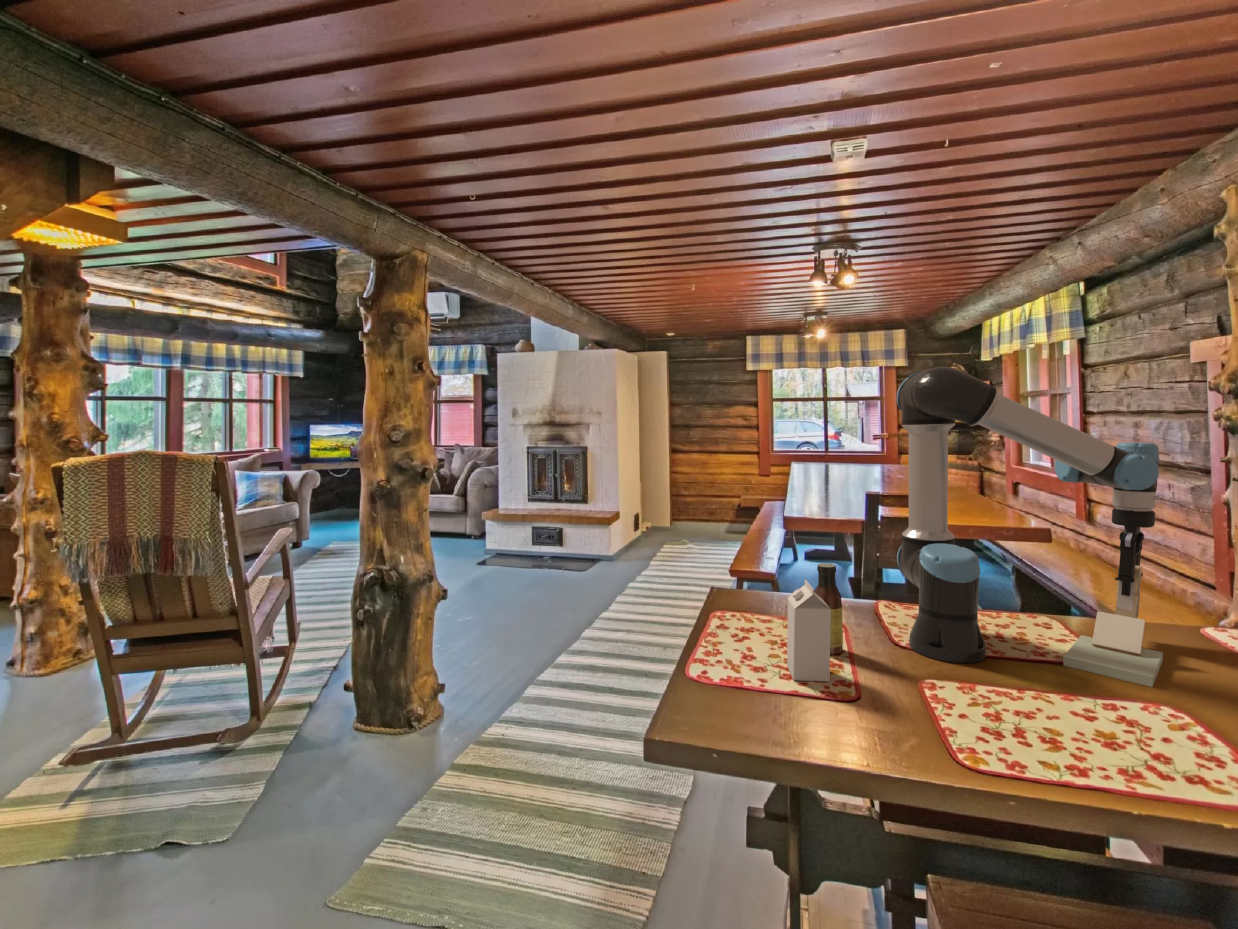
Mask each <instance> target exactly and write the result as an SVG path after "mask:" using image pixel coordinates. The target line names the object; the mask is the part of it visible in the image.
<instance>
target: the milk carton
mask: <svg viewBox="0 0 1238 929" xmlns="http://www.w3.org/2000/svg"><path fill="white" fill-rule="evenodd" d="M814 590H815V588H813V586H812V585H811V584H810V583H809V582H808V580H807V579H804V585H802V586H801V587H799V588H797V589H795V590H794V591H793V592H792V593H791V595H789V597H787V642H786V643H787V647H786V648H787V649H786V650H787V651H786V654H787V655H786V656H787V657H786V667H787V669H788V671H789V674H790V675H791V678H792V680H793V681H803V682H805V681H806V682H830V679H831V678H830V676H831V673H830V671H831V664H830V663H831V654H830V631H831V609H830V608H829V606H828V605H827V604H826V603H825V602H824V601H823V599H822V598H821V597H819V596H818V595H817V594H816V593H815V592H814Z"/></svg>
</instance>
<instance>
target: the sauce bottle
mask: <svg viewBox="0 0 1238 929" xmlns="http://www.w3.org/2000/svg"><path fill="white" fill-rule="evenodd" d="M816 571H817V573H818V575H817V576H818V578H817V579H818V580H817V583H818V584H817V585H816V587H815V588H814V592H815V593H816V594H817V595H818V596H819V597H821V598H822V599H823V601H824V602H825V603H826V604H827V605H828V606H829V608H830V609H831V631H830V655H838V654H841V653H842V652H843V645H844V638H843V637H844V635H843V634H844V632H843V629H844V628H843V603H842V595H841V592H840V591H839V588H838V586H837V581H836V572H837V565H836V564H834V563H830V562H829V563H828V562H827V563H826V562H825V563H823V562H822V563H817V567H816Z"/></svg>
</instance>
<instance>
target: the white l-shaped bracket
mask: <svg viewBox="0 0 1238 929" xmlns="http://www.w3.org/2000/svg"><path fill="white" fill-rule="evenodd" d="M1142 567H1143V566H1142V565H1140V566H1137V565H1135V574H1134V579H1135V581H1134V582H1135V590H1134V605H1133V611H1132V610H1127V609H1121V608H1117V606H1118V590H1119V581H1118V580H1117V581H1116V582H1117V584H1116V586H1117V587H1116V598H1115V599H1116V601H1115V612H1114V614H1115V615H1121V616H1126V617H1132V618H1137V619H1138V617H1139V610H1140V597H1141V583H1142V582H1141V581H1142V577H1141V573H1142V572H1143V571H1142V569H1143V568H1142ZM1117 570H1118V571H1117V576H1118V575H1119V566H1118V569H1117ZM1128 576H1129V575H1128Z"/></svg>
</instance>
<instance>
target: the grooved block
mask: <svg viewBox="0 0 1238 929" xmlns="http://www.w3.org/2000/svg"><path fill="white" fill-rule="evenodd" d="M1092 640H1093V636H1092V637H1091V636H1086V635H1082V634H1080V636H1079V637H1078V638H1077V639H1076V641H1075V642H1074V643H1073V644H1072V645H1071V647H1070V648H1069V649H1068V650H1067V652H1066V653H1065V654H1064V655H1063V666H1065V667H1069V668H1072V669H1077V670H1081V671H1085V672H1089V673H1093V674H1096V675H1097V674H1098V675H1101V676H1104V677H1110V678H1113V679H1118V680H1121V681H1126V682H1129V683H1133V684H1138V685H1141V686H1146V687H1148V688H1149V687H1150V688H1153V687H1154V684H1155V681H1156V679H1157V677H1158V673H1159V671H1160V669H1161V666H1162V663H1163V662H1164V660H1163V658H1164V657H1163V656H1164V652H1163V651H1157V650H1153V649H1148V648H1143V647H1142V649H1141V656H1139V655H1134V654H1129V653H1125V652H1120V651H1115V650H1111V649H1106V648H1101V647H1097V646H1092Z"/></svg>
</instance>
